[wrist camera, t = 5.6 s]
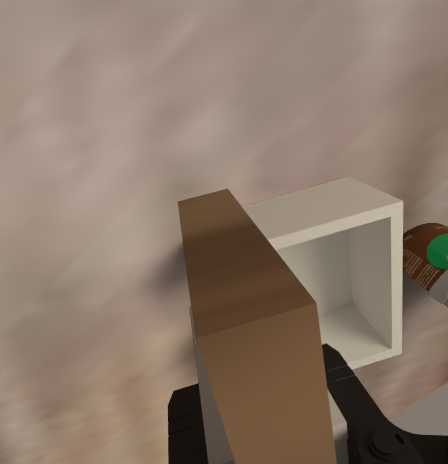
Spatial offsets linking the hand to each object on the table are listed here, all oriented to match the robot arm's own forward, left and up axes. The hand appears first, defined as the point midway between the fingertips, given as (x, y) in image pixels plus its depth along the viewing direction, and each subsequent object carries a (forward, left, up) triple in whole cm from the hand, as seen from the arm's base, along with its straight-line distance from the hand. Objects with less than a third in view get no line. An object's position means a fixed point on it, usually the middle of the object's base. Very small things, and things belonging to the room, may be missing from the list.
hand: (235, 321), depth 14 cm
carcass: (+10, +7, -17) cm, 21 cm away
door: (0, 0, 0) cm, 1 cm away
